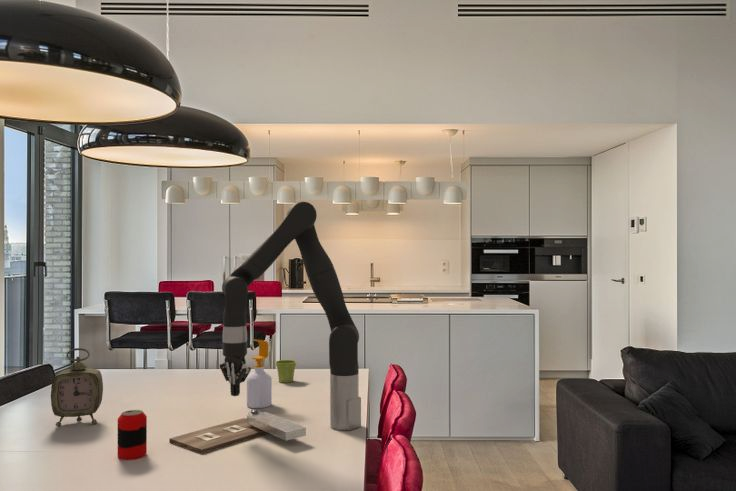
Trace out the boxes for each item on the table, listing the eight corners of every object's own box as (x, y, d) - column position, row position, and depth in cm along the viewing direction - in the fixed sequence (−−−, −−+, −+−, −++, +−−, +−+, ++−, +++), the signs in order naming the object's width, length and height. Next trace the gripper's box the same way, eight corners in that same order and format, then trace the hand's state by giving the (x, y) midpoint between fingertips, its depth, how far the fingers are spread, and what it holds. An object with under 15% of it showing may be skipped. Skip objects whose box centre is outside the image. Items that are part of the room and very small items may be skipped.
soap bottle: (241, 406, 218) (241, 339, 219) (257, 401, 226) (257, 336, 227) (261, 409, 214) (261, 341, 214) (276, 404, 222) (276, 338, 223)
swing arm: (261, 417, 197) (261, 407, 197) (305, 435, 177) (305, 424, 177) (242, 421, 192) (242, 411, 192) (285, 440, 173) (285, 429, 173)
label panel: (276, 430, 190) (276, 424, 190) (201, 453, 168) (201, 447, 168) (243, 421, 200) (243, 415, 200) (169, 442, 178) (169, 436, 178)
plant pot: (272, 380, 263) (272, 360, 263) (293, 378, 267) (293, 359, 267) (278, 384, 254) (278, 364, 254) (299, 382, 258) (299, 362, 258)
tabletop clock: (50, 429, 191) (50, 351, 191) (57, 421, 200) (57, 346, 200) (99, 425, 195) (99, 349, 195) (103, 418, 204) (104, 345, 204)
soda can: (137, 449, 172) (137, 407, 172) (151, 455, 167) (151, 412, 167) (112, 456, 166) (112, 413, 166) (126, 462, 161) (126, 418, 161)
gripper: (258, 340, 186) (258, 396, 185) (231, 337, 194) (231, 390, 194) (238, 343, 180) (239, 401, 180) (211, 339, 188) (212, 394, 188)
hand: (235, 395), depth 187 cm, fingers closed
